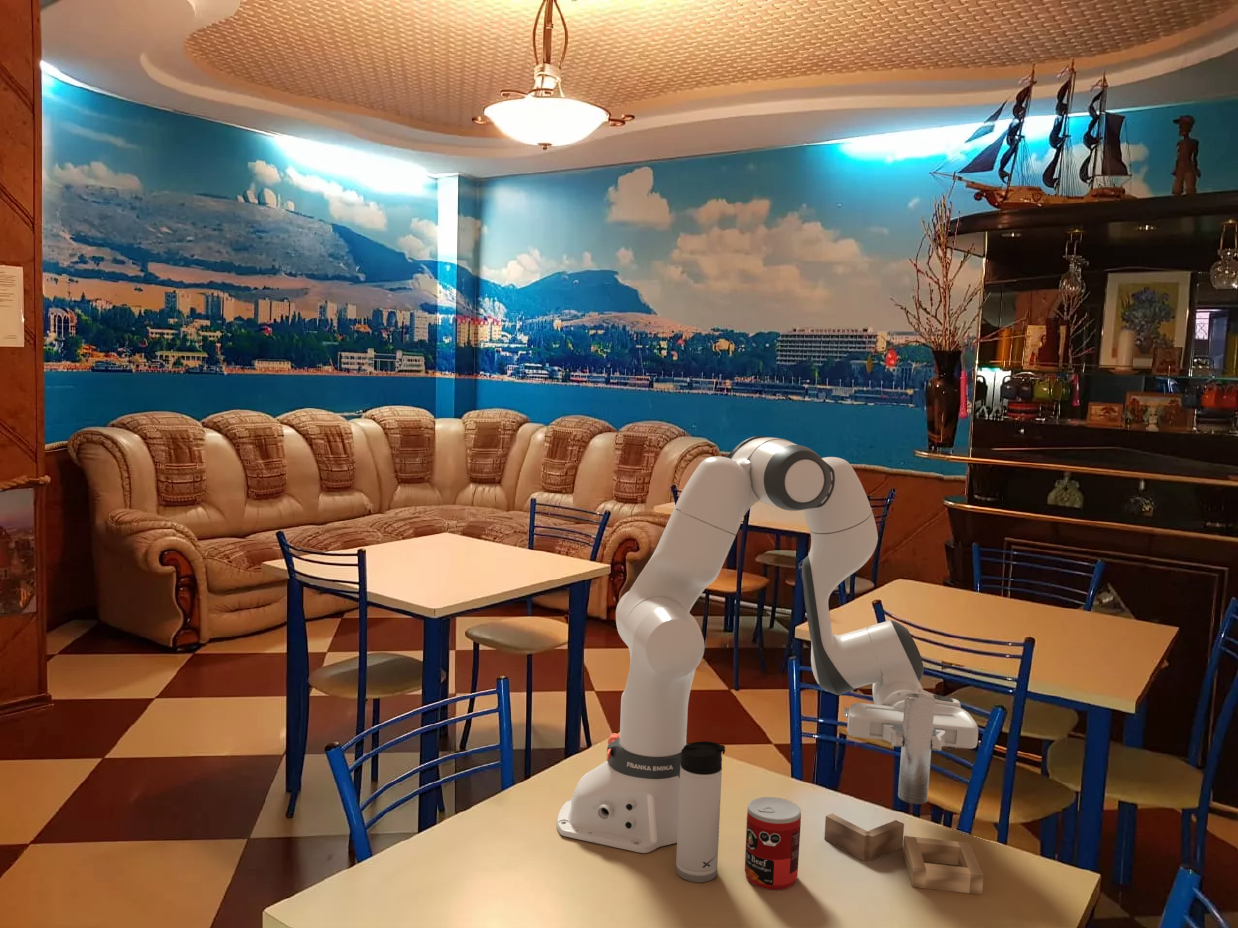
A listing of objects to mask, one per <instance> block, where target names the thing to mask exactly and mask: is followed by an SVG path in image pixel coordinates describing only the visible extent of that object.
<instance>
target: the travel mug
mask: <svg viewBox="0 0 1238 928" xmlns="http://www.w3.org/2000/svg"><path fill="white" fill-rule="evenodd" d="M725 753H726V746H725V745H724V744H720V743H718V742H714V741H708V740H707V741H706V740H705V741H704V740H703V741H701V740H700V741H693V742H690V743H687V745H686V746H684V748H683V749H682V750H681V764H680V785H679V808H678V832H677V843H676V859H675V863H676V864H675V871H676V874H677V875H678V876H679V877H680V878H682V879H683V880H685V881H688V882H693V883H706V882H710V881H711V880H713V879H715V878H716V877H717V874H718V860H719V857H718V856H719V840H720V839H719V838H720V821H721V820H720V819H721V818H720V817H721V798H722V797H721V796H722V795H721V794H722V792H721V791H722V774H723V773H722V772H723V766H722V765H723V764H722V763H723V755H724V754H725Z"/></svg>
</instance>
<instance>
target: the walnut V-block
mask: <svg viewBox="0 0 1238 928" xmlns="http://www.w3.org/2000/svg"><path fill="white" fill-rule="evenodd" d="M904 829H905V823H903V822H901V821H900V820H897V819H895V820H893V821H890V822H887V823H885V824H882V825H880V826H877V827H874V828H872V829H869V830H865V829H863V828H861V827H860V826H858V825H856V824H853V823H852V822H850V821H848V820H846V819H845V818H842V817H840V816H839V815H836V814H834V813H829V814H826V815H825V822H824V840H825V841H827V842H829V843H831V844H833V845H835V846H836V847H838V848H840V849H841V850H844V851H845V852H848V853H849V854H851V855H852V856H854V857H856V858H859V860H862V861H865V860H868V861H870V862H871V861H874V860H876V859H879V858H881V857H883V856H886V855H889V854H891V853H892V852H896V851H897V850H900V849H903V845H904Z"/></svg>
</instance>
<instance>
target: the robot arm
mask: <svg viewBox="0 0 1238 928" xmlns="http://www.w3.org/2000/svg"><path fill="white" fill-rule="evenodd" d="M868 498H869V497H868V495H867V494H866V491H865V489H864V486H863V484H862V482H861V481H860V478H859V477H858V474H857V473H856V471H855V469H854V468H853V466H852V465H851V464H850V463H849V461H847V460H846V459H844V458H840V457H836V456H827V457H821V455H819V454H818V453H817V452H815V451H814V450H813V449H811V448H809V447H806V446H804V445H800V444H796V443H794V442H792V441H790V440H787V439H785V438H780V437H779V438H778V437H770V436H766V435H758V436H752V437H749V438H747V439H745V440H743V441H741V442H740V443H739V444H737V445H736V446H735V448H733V450H732V451H731V452H730V453H728V454H727V455H726V456H719V455H717V456H709V457H706V458H705V459H703V460H702V461H701V462H700V463H699V464H698V466H697V467H696V469H695V470H694V471H693V473H692V474H691V476H690V478H689V479H688V481H687V482H686V484H685V486H684V488H683V489H682V491H681V493H680V495H679V497H678V499H677V501H676V504H675V506H674V508H673V510H672V512H671V514H670V516H669V519H668V520H667V523H666V526H665V528H664V530H663V532H662V535H661V536H660V539H659V541H658V543H657V546H656V547H655V549H654V552H653V553H652V555H651V557H650V559H649V560H648V562H647V563H646V564H645V566H644V568H643V569H642V571H640V573H639V574H638V576H637V578H636V580H635V581H634V583H633V584H632V585H631V587H630V589H629V590H628V591H627V592H625V593H624V594H623V595H622V597H621V598H620V600H619V601H618V602H617V605H616V609H615V623H616V628H617V629H616V630H617V632H618V635H619V637H620V639H621V640H622V641H623V642H624V643H625V645H626V646H627V647H628V651H629V657H630V663H629V671H628V674H627V679H626V684H625V688H624V691H623V692H622V693H621V698H620V717H619V718H620V720H619V721H620V722H619V723H620V724H619V725H620V726H619V734H618V733H615V732H613V733H611V735H609V738H608V740H607V744H608V745H607V746H606V760H605V761H603V762H602V763H601V764H598V765H597V766H595V767H594V768H593V769H591V770H589V771H588V772H586V773H585V774H584V775H583V776H582V777H581V778H580V780H578V782H577V784H576V786H575V789H574V791H573V794H572V797H571V798H569V799H568V800H567V801H566V802H565V803H564V804H563V805H562V807H561V808H560V810H559V812H558V815H557V820H556V829H557V831H558V833H559V834H560V835H561V836H563V837H567V838H572V839H576V840H580V841H585V842H590V843H594V844H597V845H603V846H608V847H612V848H618V849H621V850H627V851H631V852H635V853H636V852H637V853H641V854H646V853H647V854H648V853H650V852H652V851H655V850H657V848H661V847H664V846H669V845H672V844H677V832H678V808H679V785H680V764H681V750H682V749H683V748H684V746H686V745H687V744H688V743H687V733H688V731H687V730H688V712H689V711H688V710H689V708H688V707H689V700H690V696H691V695H690V693H691V690H692V689H691V688H692V685H693V681H694V677H695V673H696V669H697V668H698V667H699V665H700V663H701V661H702V659H703V657H704V653H705V640H704V636H703V632H702V630H701V628H700V625H699V624H698V621H697V620H696V618H695V617H694V616H693V615H692V614H691V613H690V611H691V610H692V608H693V606H694V605H695V603H696V602H697V600H699V598H700V596H701V595H702V594H703V592H704V591H705V589H707V588H708V586H709V585H711V584H713V583H714V582H715V581H716V580H717V578H718V577H719V576H720V573H721V571H722V568H723V566H724V563H725V562H726V559H727V557H728V555H729V552H730V550H731V548H732V546H733V543H734V541H735V539H736V536H737V533H738V531H739V529H740V527H741V523H742V522H743V518H744V517H745V515H746V514H747V513H748V511H749V510H750V509H751V508H752V507H753V506H754V505H755V504H756V503H758V502H760V503H763V504H765V505H768V506H771V507H776V508H779V509H782V510H785V511H791V512H793V511H794V512H795V511H797V512H798V511H802V512H803V514H804V517H805V520H806V523H807V526H808V529H809V530H808V531H809V534H810V539H811V540H810V542H811V543H810V549H809V553H808V555H807V556H806V557H805V558H804V559H802V564H801V578H802V585H803V597H804V604H805V611H806V618H807V625H808V631H809V636H810V644H811V645H810V646H811V647H810V648H811V649H810V664H811V670H812V673H813V677H814V679H815V681H816V683H817V685H819V688H821V689H823V690H824V691H827V692H828V693H831V694H833V695H836V696H841V695H843V694H846V693H849V692H852V691H854V690H857V688H861V687H865V686H868V685H872V688H871V689H872V699H873V703H864V702H855V703H852V704H850V706H849V707H844V708H843V710H842V712H843V716H844V717H845V718H846V719H847V734H848V735H849V736H851V737H854V738H859V739H860V738H861V739H869V740H870V739H871V740H881V741H886V742H889V743H890V744H891V745H892V747H897V748H899V747H900V748H901V747H902V746H903V743H902V742H903V735H902V733H903V719H904V705H905V696H906V695H907V694H923V695H927V696H930V697H932V698H934V699H935V705H934V719H933V732H932V745H931V751H937V752H941V751H942V748H943V747H952V748H959V749H960V748H963V749H969V750H970V749H975V748H976V747H977V745H978V741H979V740H978V738H979V726H978V724H977V723H976V721H975V720H974V717H972V715H971V714H970V713H969V712H968V711H966V710H965V709H963V708H962V707H961V702H960V701H959V700H958V699H956V698H951V697H948V696H947V697H946V696H944V695H939V694H936V693H935V694H934V693H932V692H929V691H927V690H924V689H923V687H922V684H921V680H922V677H923V675H924V670H925V667H924V663H923V659H922V656H921V654H920V653H921V652H920V650H919V648H918V646H917V644H916V642H915V640H914V638H913V637H912V635H911V633H910V631H909V629H908V628H907V627H906V626H904V625H902V624H901V623H899V622H897V621H895V620H892V619H890V620H886V621H883V622H879V623H876V624H872V625H868V626H866V627H863V628H860V629H856V630H852V631H848V632H846V633H842V634H833V631H832V630H833V629H832V622H831V615H830V609H829V600H830V596H831V594H832V593H833V591H834V590H835V589H836V588H837V587H838V586H839V585H840V584H841V583H842V582H844V581H845V580H846V579H847V578H849V577H850V576H851V575H853V574H854V573H856V572H857V571H859V570H860V569H861V568H862V567H863V566H864V565H865V564H866V563H867V562H868V561H869V559H870V558H871V557H872V556H873V554H874V553H875V550H876V548H877V545H878V540H879V535H878V529H877V525H876V519H875V517H874V513H873V510H872V507H871V505H870V501H869V499H868Z"/></svg>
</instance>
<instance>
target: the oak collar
mask: <svg viewBox="0 0 1238 928" xmlns="http://www.w3.org/2000/svg"><path fill="white" fill-rule="evenodd" d="M902 856H903V858H904V863H905V865H906V869H907V873H908V877H909V880H910V883H911V887H912V888H921V889H927V890H928V889H931V890H938V891H947V892H948V891H949V892H957V893H964V894H965V893H966V894H972V895H980V896H981V895H983V887H984V873H983V871H982V868H981V866H980V864H979V862H978V859H977V857H976V855H975V853H974V851H973V848H972V846H971V844H970V842H966V841H958V840H957V841H956V840H946V839H938V838H928V837H927V838H926V837H920V836H919V837H918V836H909V835H903V848H902Z"/></svg>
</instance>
